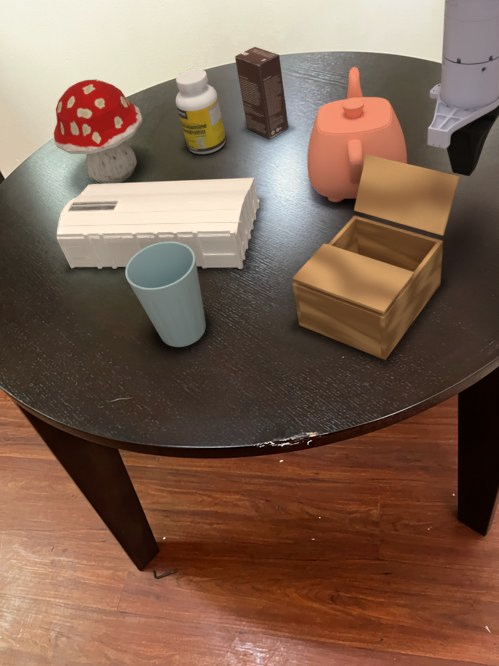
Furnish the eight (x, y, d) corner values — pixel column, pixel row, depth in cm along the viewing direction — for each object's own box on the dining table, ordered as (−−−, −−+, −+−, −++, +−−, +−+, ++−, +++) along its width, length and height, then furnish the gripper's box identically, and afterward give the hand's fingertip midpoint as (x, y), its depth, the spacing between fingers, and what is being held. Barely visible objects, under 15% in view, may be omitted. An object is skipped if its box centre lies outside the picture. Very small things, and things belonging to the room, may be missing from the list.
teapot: (402, 136, 97) (402, 56, 88) (411, 219, 83) (412, 135, 75) (312, 145, 99) (304, 68, 91) (307, 227, 86) (296, 146, 77)
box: (290, 127, 104) (280, 53, 95) (269, 140, 102) (257, 66, 94) (266, 116, 108) (254, 44, 99) (245, 128, 106) (232, 56, 97)
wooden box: (357, 257, 80) (354, 209, 75) (440, 284, 75) (443, 234, 69) (299, 325, 74) (291, 278, 69) (385, 360, 68) (384, 312, 63)
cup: (139, 331, 78) (111, 267, 70) (190, 298, 80) (168, 231, 73) (174, 365, 73) (149, 299, 66) (227, 328, 76) (208, 260, 68)
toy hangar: (265, 199, 92) (257, 156, 87) (246, 269, 82) (236, 225, 77) (103, 204, 98) (87, 165, 93) (68, 270, 88) (48, 229, 83)
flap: (353, 210, 75) (355, 210, 75) (442, 235, 69) (443, 235, 70) (365, 154, 72) (367, 154, 73) (458, 176, 67) (460, 175, 67)
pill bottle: (180, 147, 105) (161, 79, 97) (211, 129, 108) (195, 61, 99) (203, 160, 102) (185, 91, 93) (235, 142, 104) (220, 72, 95)
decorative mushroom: (65, 205, 100) (24, 116, 89) (81, 156, 109) (46, 70, 98) (153, 192, 98) (122, 99, 87) (161, 143, 107) (134, 54, 97)
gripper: (465, 14, 68) (457, 131, 78) (399, 79, 61) (399, 198, 71) (534, 21, 64) (516, 142, 74) (471, 91, 57) (461, 214, 67)
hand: (463, 171), depth 72 cm, fingers closed
